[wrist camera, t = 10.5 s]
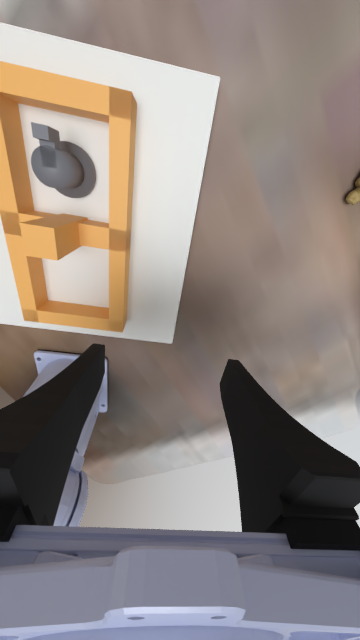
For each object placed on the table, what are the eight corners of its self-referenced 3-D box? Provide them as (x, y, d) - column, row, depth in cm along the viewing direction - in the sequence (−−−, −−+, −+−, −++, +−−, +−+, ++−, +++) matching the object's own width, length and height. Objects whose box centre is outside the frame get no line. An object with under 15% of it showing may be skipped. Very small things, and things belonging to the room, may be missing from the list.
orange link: (126, 321, 22) (113, 357, 17) (36, 309, 21) (-5, 345, 16) (136, 103, 14) (117, 58, 9) (-9, 70, 13) (-116, 1, 8)
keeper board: (172, 335, 24) (171, 369, 20) (-2, 314, 23) (-47, 346, 18) (216, 87, 14) (236, 38, 10) (-89, 12, 13) (-242, -90, 8)
